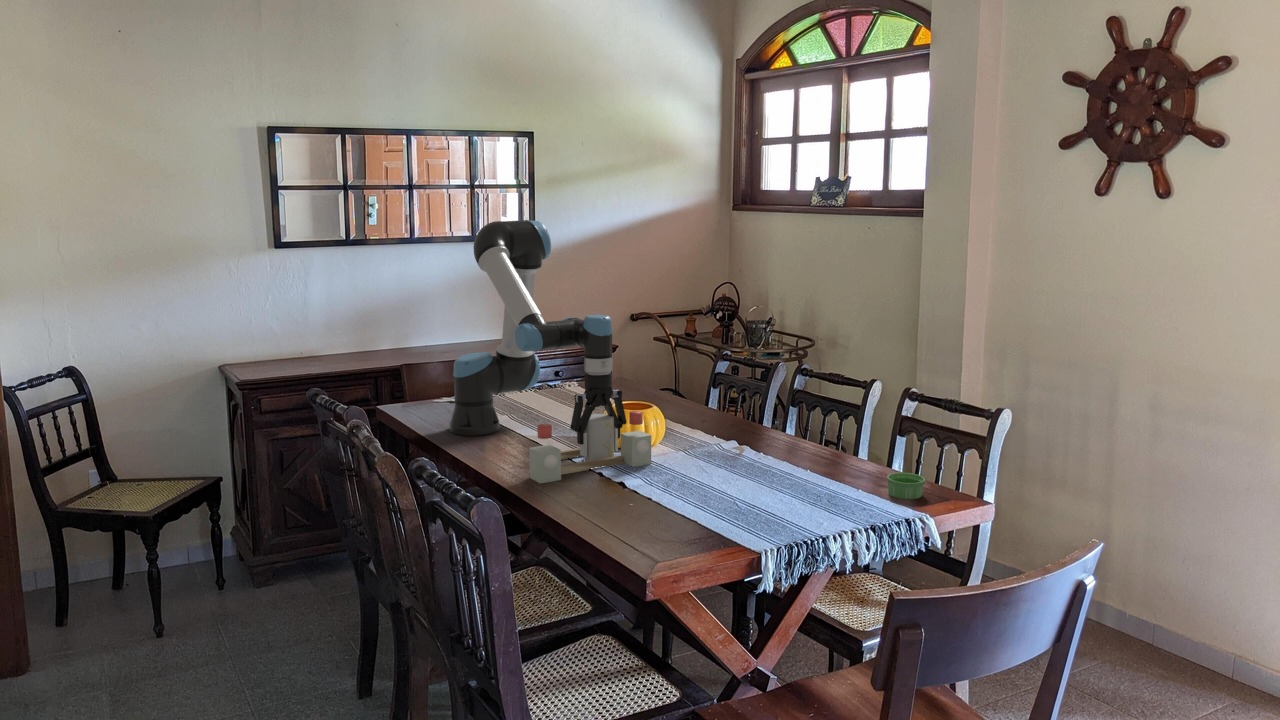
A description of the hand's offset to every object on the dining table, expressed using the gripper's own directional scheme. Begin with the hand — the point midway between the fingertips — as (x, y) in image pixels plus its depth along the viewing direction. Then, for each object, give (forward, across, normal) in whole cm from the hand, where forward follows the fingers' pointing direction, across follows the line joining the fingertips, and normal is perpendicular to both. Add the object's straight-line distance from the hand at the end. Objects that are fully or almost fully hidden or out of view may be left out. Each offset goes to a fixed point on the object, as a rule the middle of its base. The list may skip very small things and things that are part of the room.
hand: (599, 452), depth 276 cm
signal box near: (+2, -20, -8) cm, 22 cm away
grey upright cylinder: (+2, 0, 0) cm, 2 cm away
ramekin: (+2, +48, -66) cm, 82 cm away
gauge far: (-9, +7, -8) cm, 14 cm away
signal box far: (+2, +7, -8) cm, 11 cm away
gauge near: (-9, -20, -8) cm, 24 cm away
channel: (+2, -6, 0) cm, 6 cm away
